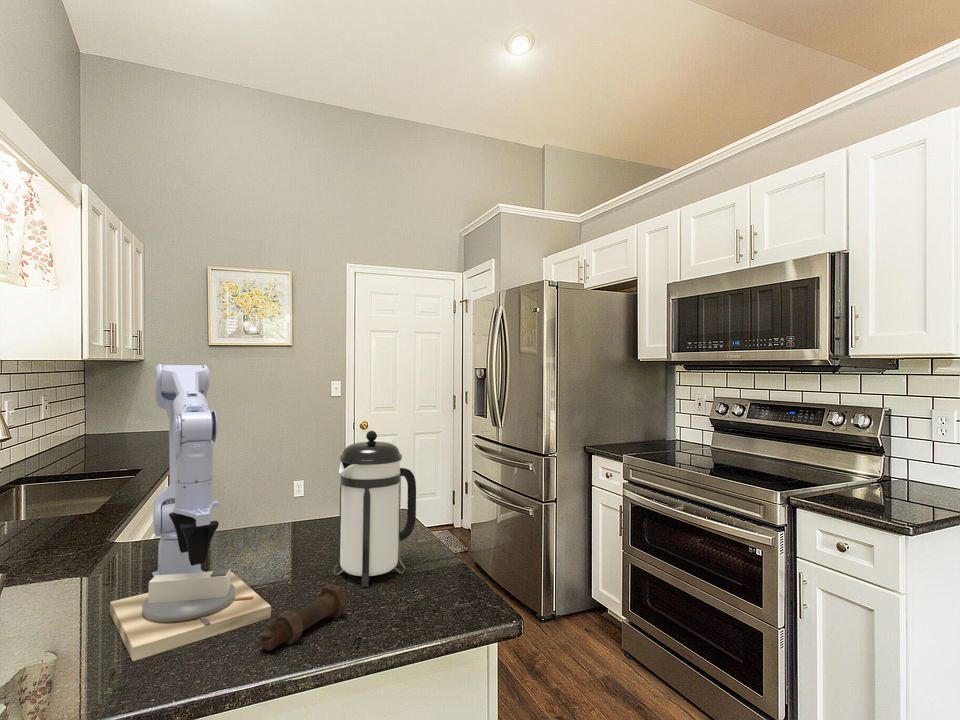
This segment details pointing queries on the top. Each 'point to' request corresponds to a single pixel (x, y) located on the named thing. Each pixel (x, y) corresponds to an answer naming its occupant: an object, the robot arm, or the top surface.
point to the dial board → (184, 622)
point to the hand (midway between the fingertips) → (192, 557)
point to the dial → (187, 595)
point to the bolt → (304, 618)
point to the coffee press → (372, 508)
